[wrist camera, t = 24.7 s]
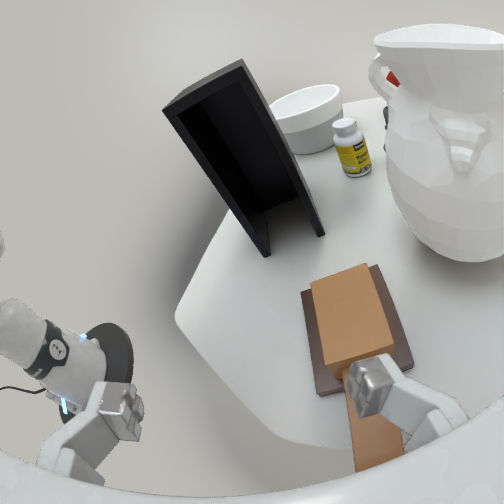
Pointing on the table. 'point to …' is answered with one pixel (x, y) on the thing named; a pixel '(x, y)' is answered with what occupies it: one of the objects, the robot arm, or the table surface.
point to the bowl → (309, 117)
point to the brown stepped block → (356, 353)
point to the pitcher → (446, 135)
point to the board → (322, 375)
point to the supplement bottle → (351, 147)
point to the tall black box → (240, 148)
